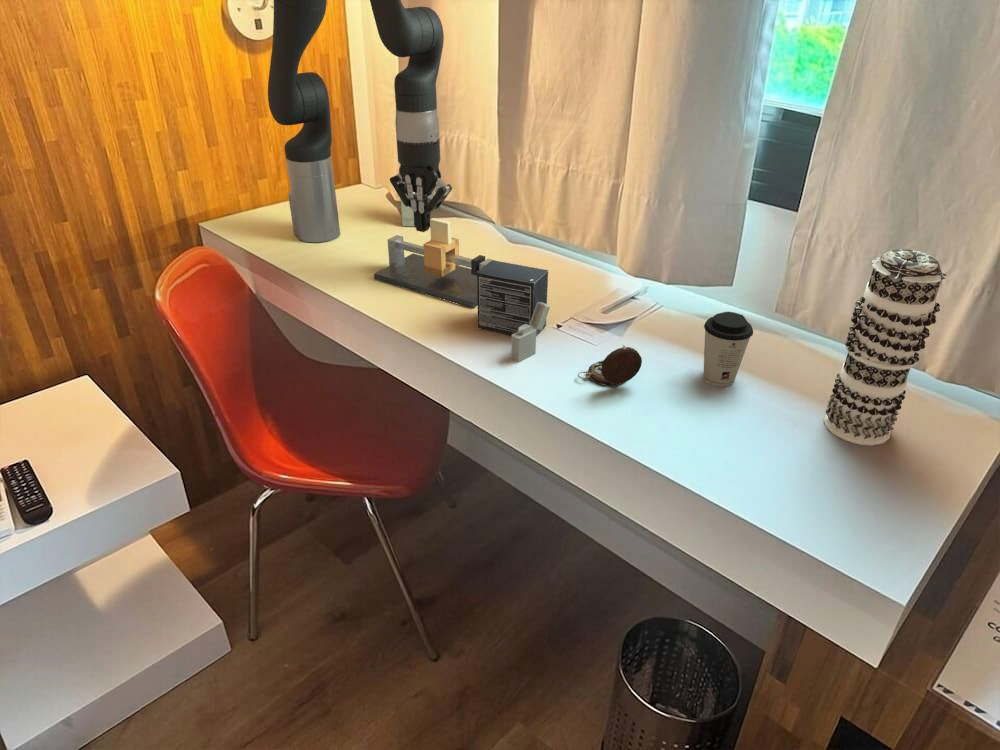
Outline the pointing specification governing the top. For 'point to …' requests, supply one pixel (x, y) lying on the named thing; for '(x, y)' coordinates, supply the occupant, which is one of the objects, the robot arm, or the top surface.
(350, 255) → the top surface
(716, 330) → the coffee cup
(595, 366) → the compass
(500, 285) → the small box
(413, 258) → the linear slide rail
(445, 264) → the orange slider carriage
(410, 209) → the skincare box
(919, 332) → the decorative candle
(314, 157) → the robot arm
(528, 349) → the lighter
